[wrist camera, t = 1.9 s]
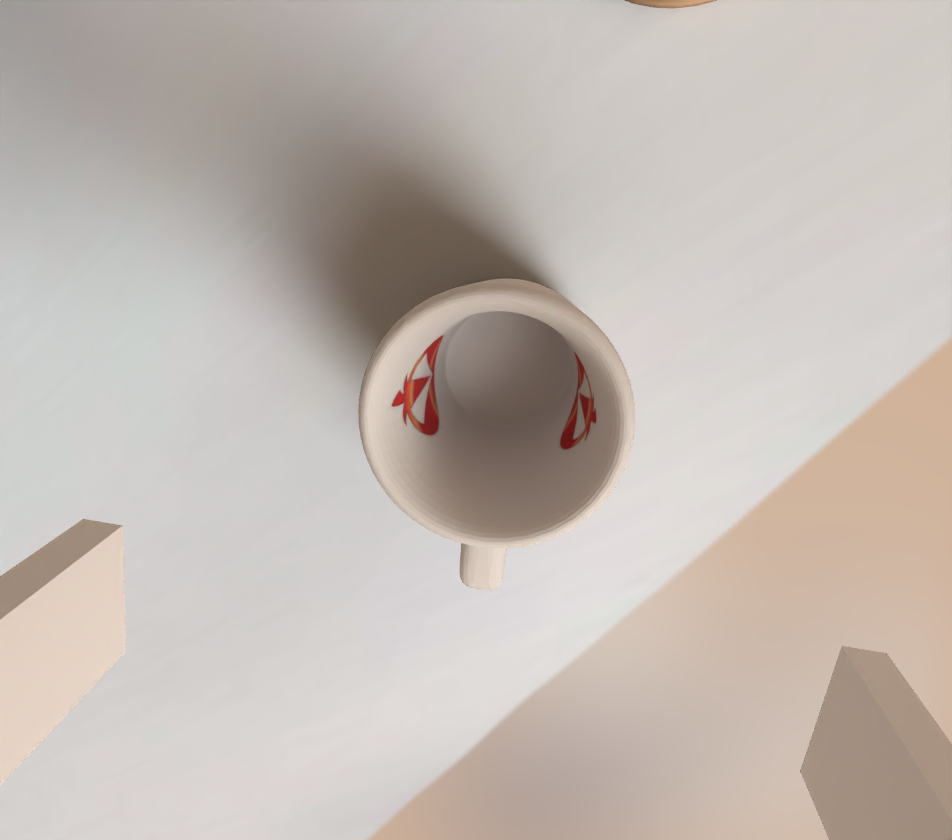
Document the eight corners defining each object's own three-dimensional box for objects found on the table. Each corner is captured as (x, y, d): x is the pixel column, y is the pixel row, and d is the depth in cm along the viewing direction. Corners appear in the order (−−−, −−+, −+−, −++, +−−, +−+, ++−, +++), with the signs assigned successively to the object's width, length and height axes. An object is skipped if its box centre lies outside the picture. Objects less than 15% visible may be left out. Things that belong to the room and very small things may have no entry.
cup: (588, 531, 30) (601, 648, 22) (399, 508, 30) (348, 614, 23) (627, 267, 27) (658, 300, 19) (414, 247, 27) (360, 270, 19)
